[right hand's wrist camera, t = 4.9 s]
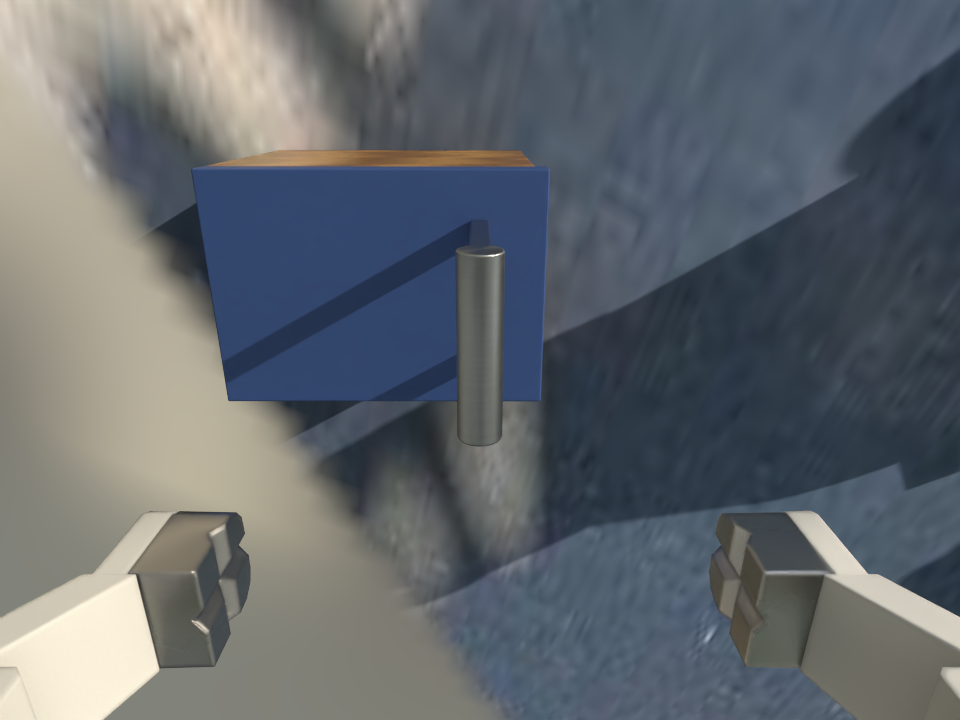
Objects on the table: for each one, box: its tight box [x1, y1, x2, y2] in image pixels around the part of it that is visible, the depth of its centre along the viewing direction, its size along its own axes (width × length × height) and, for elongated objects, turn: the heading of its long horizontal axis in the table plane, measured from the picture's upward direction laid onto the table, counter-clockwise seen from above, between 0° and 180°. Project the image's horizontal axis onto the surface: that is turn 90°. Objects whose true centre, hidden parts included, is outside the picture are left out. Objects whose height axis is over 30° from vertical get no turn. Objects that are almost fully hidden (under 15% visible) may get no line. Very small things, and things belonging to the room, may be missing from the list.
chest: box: [208, 150, 534, 166], centre depth 31 cm, size 13×10×10 cm
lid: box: [191, 166, 550, 446], centre depth 23 cm, size 14×10×8 cm
